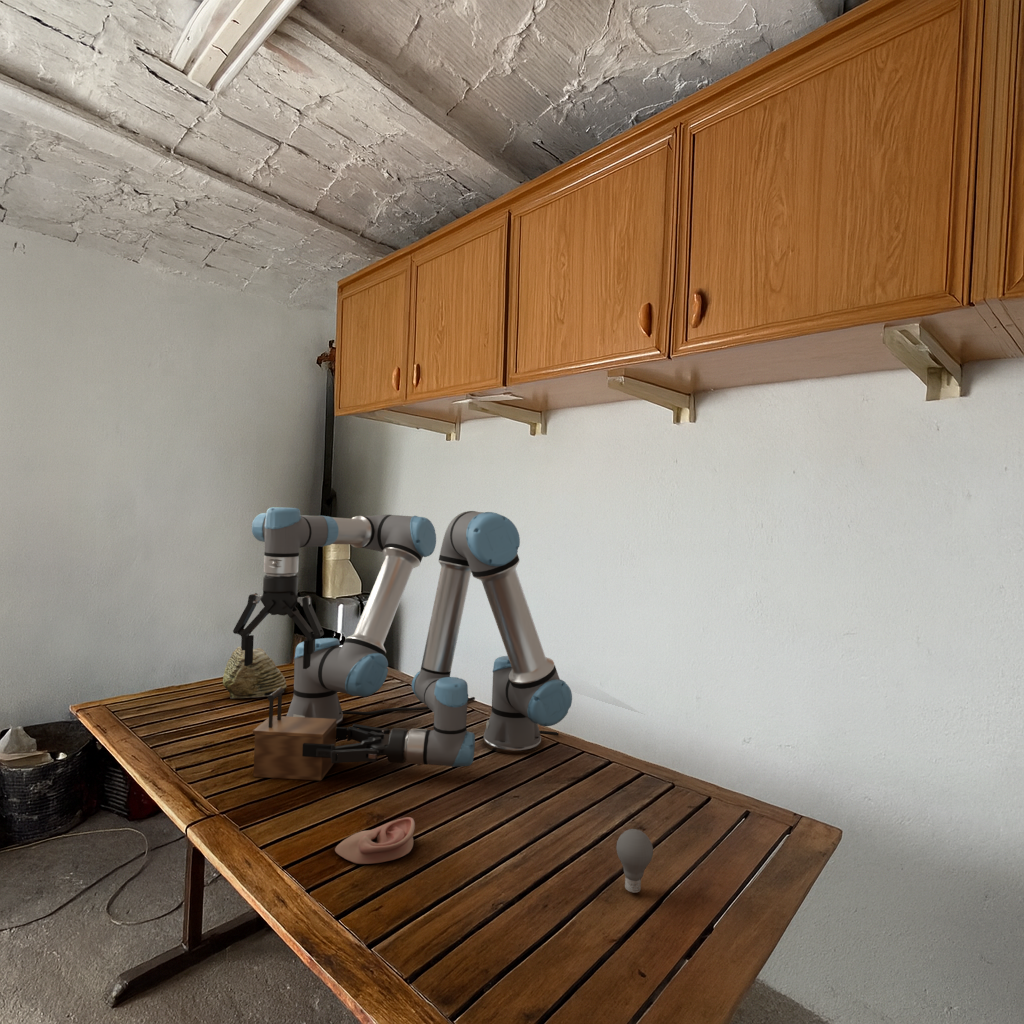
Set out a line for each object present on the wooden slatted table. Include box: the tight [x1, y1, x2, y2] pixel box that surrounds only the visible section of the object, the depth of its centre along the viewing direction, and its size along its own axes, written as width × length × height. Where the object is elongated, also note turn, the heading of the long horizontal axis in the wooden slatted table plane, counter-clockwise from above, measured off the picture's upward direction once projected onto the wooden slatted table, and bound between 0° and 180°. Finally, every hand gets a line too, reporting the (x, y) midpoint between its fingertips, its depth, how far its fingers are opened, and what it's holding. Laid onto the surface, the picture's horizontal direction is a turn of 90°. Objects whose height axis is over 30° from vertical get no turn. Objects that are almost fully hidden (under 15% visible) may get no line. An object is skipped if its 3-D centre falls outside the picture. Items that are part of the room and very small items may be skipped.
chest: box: [253, 723, 337, 782], centre depth 146 cm, size 15×10×10 cm, turn 88°
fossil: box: [222, 646, 288, 699], centre depth 198 cm, size 9×18×15 cm, turn 132°
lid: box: [252, 687, 337, 738], centre depth 146 cm, size 16×10×8 cm, turn 88°
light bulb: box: [615, 828, 654, 894], centre depth 106 cm, size 6×6×10 cm
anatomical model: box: [334, 816, 416, 865], centre depth 115 cm, size 13×4×12 cm
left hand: (277, 666), depth 146 cm, fingers open, 13 cm apart
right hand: (311, 740), depth 146 cm, fingers closed on chest, 10 cm apart
